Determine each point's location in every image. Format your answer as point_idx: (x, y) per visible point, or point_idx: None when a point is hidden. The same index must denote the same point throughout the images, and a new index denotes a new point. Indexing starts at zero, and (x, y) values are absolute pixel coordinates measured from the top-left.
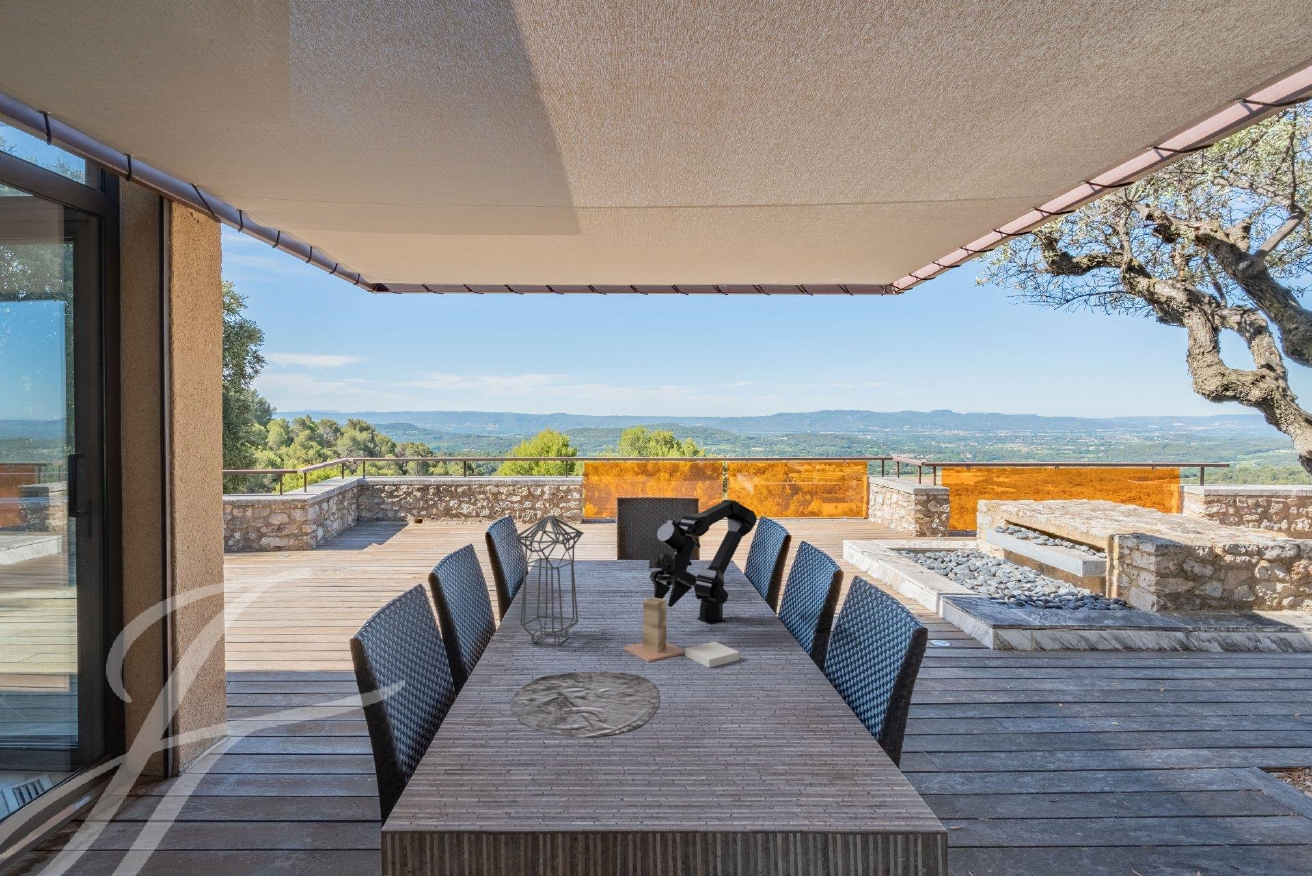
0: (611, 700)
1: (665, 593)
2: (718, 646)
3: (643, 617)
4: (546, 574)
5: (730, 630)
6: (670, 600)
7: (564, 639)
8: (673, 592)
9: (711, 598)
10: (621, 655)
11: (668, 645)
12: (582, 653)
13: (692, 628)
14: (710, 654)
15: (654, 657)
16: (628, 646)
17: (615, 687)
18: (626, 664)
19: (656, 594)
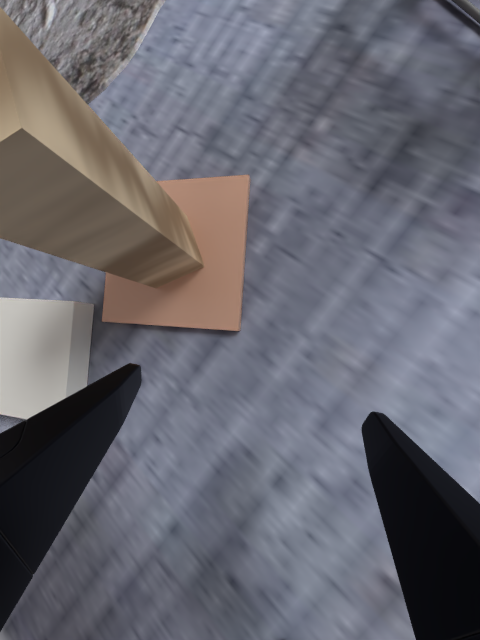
0: (6, 10)
1: (416, 616)
2: (28, 398)
3: (103, 125)
4: None
5: (177, 621)
6: (92, 383)
7: (474, 8)
8: (2, 438)
9: None
10: (205, 146)
11: (168, 309)
12: (296, 41)
13: (284, 537)
14: (2, 328)
15: None
16: (240, 190)
17: (45, 40)
18: (140, 127)
19: (430, 498)
